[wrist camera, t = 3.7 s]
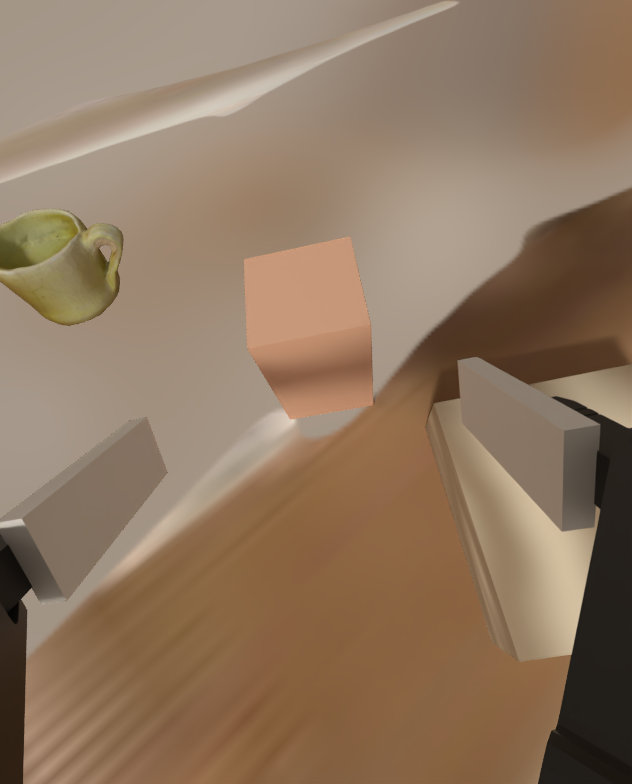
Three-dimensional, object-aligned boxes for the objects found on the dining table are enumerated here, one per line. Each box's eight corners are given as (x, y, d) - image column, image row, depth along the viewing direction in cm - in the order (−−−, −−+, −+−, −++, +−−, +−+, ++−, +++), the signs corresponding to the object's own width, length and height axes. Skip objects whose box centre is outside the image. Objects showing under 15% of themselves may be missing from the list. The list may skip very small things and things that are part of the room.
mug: (6, 338, 37) (-63, 241, 29) (58, 286, 44) (12, 199, 37) (126, 344, 37) (86, 249, 30) (159, 292, 44) (132, 205, 37)
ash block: (609, 393, 27) (654, 359, 23) (734, 605, 21) (831, 617, 16) (424, 428, 28) (433, 403, 24) (490, 641, 22) (519, 661, 17)
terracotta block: (358, 335, 32) (350, 236, 23) (373, 404, 29) (370, 324, 19) (283, 349, 33) (243, 259, 23) (290, 419, 30) (247, 348, 20)
